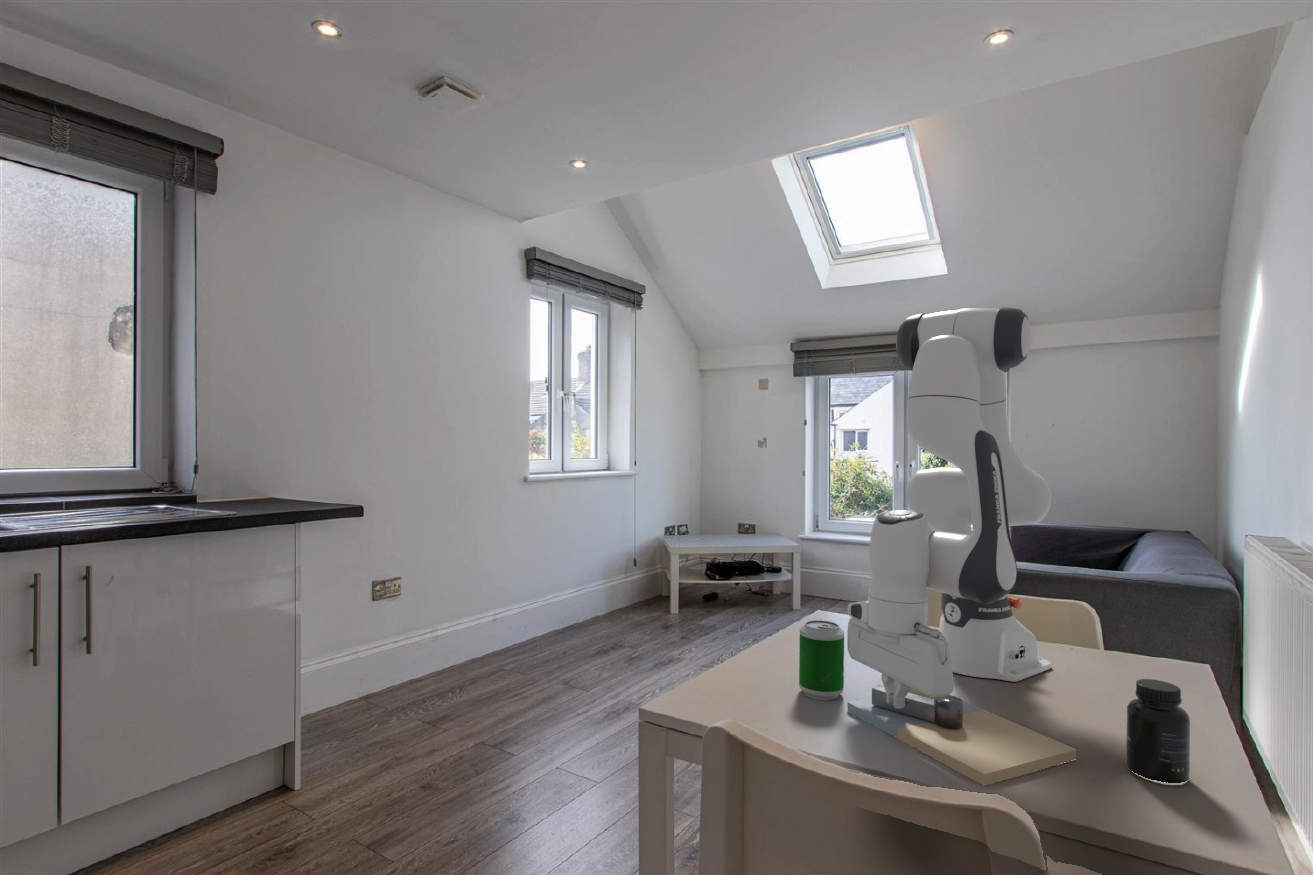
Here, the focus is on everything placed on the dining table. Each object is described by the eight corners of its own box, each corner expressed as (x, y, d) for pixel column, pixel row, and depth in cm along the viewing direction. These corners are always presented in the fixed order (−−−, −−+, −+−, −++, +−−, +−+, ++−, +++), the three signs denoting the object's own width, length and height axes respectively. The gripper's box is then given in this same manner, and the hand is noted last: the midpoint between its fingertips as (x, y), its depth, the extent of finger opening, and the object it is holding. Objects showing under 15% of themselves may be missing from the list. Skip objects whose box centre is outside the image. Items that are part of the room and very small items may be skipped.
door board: (929, 695, 118) (930, 670, 118) (1076, 760, 94) (1076, 729, 94) (847, 711, 111) (847, 684, 111) (984, 785, 87) (984, 752, 87)
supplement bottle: (1113, 763, 94) (1114, 675, 94) (1160, 761, 94) (1160, 675, 94) (1154, 788, 87) (1155, 694, 87) (1203, 787, 87) (1204, 693, 87)
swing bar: (966, 722, 102) (966, 699, 102) (957, 730, 99) (957, 706, 99) (880, 698, 111) (880, 677, 111) (869, 705, 108) (869, 683, 108)
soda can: (845, 703, 114) (845, 631, 114) (799, 699, 115) (800, 628, 115) (842, 687, 121) (842, 620, 121) (798, 684, 123) (799, 617, 123)
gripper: (965, 632, 97) (963, 730, 96) (872, 600, 116) (870, 682, 116) (929, 635, 95) (927, 735, 94) (841, 602, 114) (839, 685, 113)
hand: (895, 705), depth 105 cm, fingers closed
